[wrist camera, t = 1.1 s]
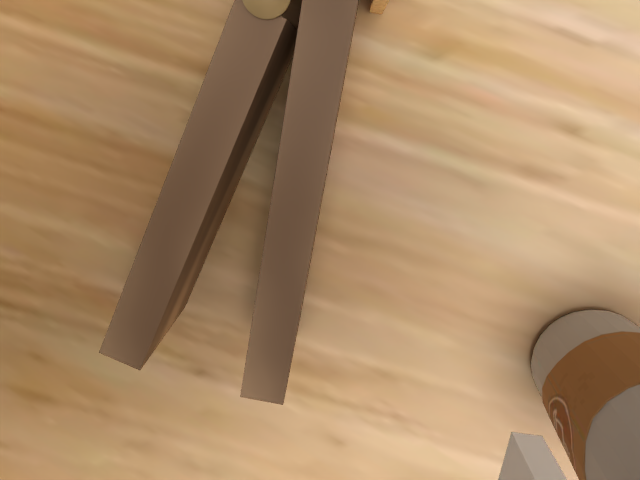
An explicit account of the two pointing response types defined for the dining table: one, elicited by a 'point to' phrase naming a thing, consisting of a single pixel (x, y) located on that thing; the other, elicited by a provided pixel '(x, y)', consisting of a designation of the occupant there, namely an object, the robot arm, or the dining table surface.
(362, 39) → the dining table surface
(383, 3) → the lock collar
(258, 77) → the tong arm
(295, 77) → the base
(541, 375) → the coffee cup
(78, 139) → the dining table surface
